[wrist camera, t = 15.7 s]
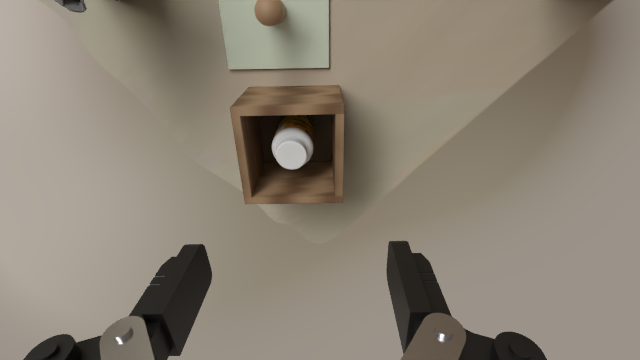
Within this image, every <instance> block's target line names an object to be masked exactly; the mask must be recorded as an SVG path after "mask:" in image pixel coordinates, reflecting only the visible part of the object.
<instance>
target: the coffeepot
mask: <svg viewBox="0 0 640 360" xmlns="http://www.w3.org/2000/svg"><path fill="white" fill-rule="evenodd" d="M55 1H56V2H58V3H59V4H60V5H62V6H64V7H66V8H67V9H68V10H70V11H73V12H84V11H85V10H86V6H85V4H84V0H55ZM117 1H121V0H117Z"/></svg>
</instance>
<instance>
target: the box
mask: <svg viewBox="0 0 640 360" xmlns="http://www.w3.org/2000/svg"><path fill="white" fill-rule="evenodd" d="M230 112H231V118H232V125H233V131H234V137H235V144H236V150H237V156H238V163H239V169H240V175H241V182H242V188H243V194H244V201H245V204H288V203H342V202H343V155H344V102H343V98H342V95H341V91H340V88H339V85H329V86H279V87H249V88H248V89H247V90H246V91H245V92H244V93H243V94H242V95H241V96H240V97H239V98H238V99H237V100H236V102H235V103H234V104H233V105H232V106H231V107H230ZM322 114H332V161H308V162H307V163H306V164H304V165H303V166H301V167H300V168H298V169H293V170H290V169H286V168H284V167H282V166H281V165H280V164H279V163H278V162H264V155H263V146H262V137H261V128H260V120H259V116H271V115H322Z"/></svg>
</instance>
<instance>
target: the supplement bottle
mask: <svg viewBox="0 0 640 360" xmlns="http://www.w3.org/2000/svg"><path fill="white" fill-rule="evenodd" d="M313 149H314V126H313V124H312V122H311V120H310V119H309V118H308V117H306V116H305V115H286V116H285V117H284V118H283V119H282V120H281V121H280V123H279V125H278V128H277V131H276V133H275V136H274V139H273V142H272V152H273V155H274V157H275V158H276V160H277V162H278V163H279V164H280V165H281V166H282V167H284V168H286V169H290V170H293V169H298V168H300V167H301V166H303V165H304V164H306V163H307V162H308V161H309V160H310V158H311V156H312V154H313Z"/></svg>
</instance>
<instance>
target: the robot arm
mask: <svg viewBox="0 0 640 360" xmlns="http://www.w3.org/2000/svg"><path fill="white" fill-rule="evenodd" d="M211 279H212V271H211V267H210V263H209V260H208V256H207V252H206V249H205V246H204V245H203V244H192V245H191V244H190V245H184V246H183V247H182V249H181V251H180V252H179V254H178V255H177V257H171V258H170V259H169V260H168V261H167V262H165V263H164V264H163V265H162V266H161V267H160V269H159V270H158V272H157V273H156V275H155V277H154V278H153V280H152V281H151V283H150V286H148V287H147V289H146V290H145V292H144V294H143V295H142V297H141V298H140V300H139V301H138V303H137V304H136V306H135V307H134V309H133V311H132V312H131V314H130V315H129V316H128V317H125V318H122V319H120V320H118V321H116V322H115V323H113V324H112V325H111V326H110V327H108V328H107V329H106V331H105V332H104V333H103V335H102V336H98V337H95V338H91V339H88V340H84V341H81V342H77V343H76V342H75V340H74V339H73V337H72V336H70V335H67V334H62V335H57V336H53V337H51V338H49V339H47V340H45V341H43V342H41V343H40V344H38V345H37V346H36V347H35V348H33V349H32V350H31V351H30V352H29V354H28V355H27V356H26V357H25V358H24V360H167V358H168V356H180V354H181V352H182V350H183V347H184V345H185V343H186V340H187V338H188V335H189V333H190V331H191V328H192V326H193V324H194V322H195V319H196V317H197V315H198V312H199V310H200V307H201V305H202V303H203V300H204V298H205V296H206V293H207V291H208V289H209V286H210V284H211ZM387 281H388V286H389V291H390V295H391V299H392V304H393V309H394V313H395V318H396V322H397V327H398V331H399V336H400V340H401V345H402V349H403V354H404V355H403V357H402V358H401V360H547V359H546V357H545V355H544V354H543V352H542V350H541V349H540V348H539V347H538V346H537V345H536V344H535V343H534V342H533V341H532V340H530V339H529V338H527V337H525V336H523V335H521V334H518V333H515V332H502V333H500V334H499V335H497V337H496V338H495V339H492V338H489V337H485V336H481V335H478V334H474V333H472V332H470V331H468V330H466V329H464V328H463V326H462V325H461V324H460V323H459V322H458V321H457V320H456V319H454V318H453V317H452V316H451V314H450V311H449V309H448V306H447V304H446V301H445V299H444V296H443V294H442V292H441V289H440V287H439V284H438V283H437V280H436V277H435V274H434V272H433V270H432V267H431V264H430V262H429V261H428V260H427V259H426V258H425V257H424V256H423V255H422V254H421V253H412V252H411V249H410V246H409V244H408V242H407V241H390V242H389V246H388V258H387Z"/></svg>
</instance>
